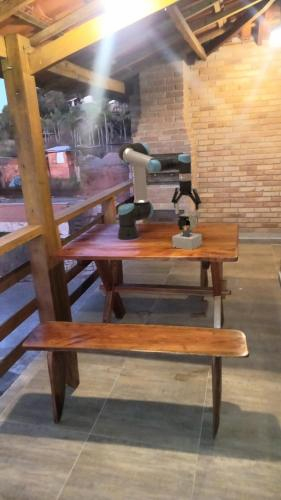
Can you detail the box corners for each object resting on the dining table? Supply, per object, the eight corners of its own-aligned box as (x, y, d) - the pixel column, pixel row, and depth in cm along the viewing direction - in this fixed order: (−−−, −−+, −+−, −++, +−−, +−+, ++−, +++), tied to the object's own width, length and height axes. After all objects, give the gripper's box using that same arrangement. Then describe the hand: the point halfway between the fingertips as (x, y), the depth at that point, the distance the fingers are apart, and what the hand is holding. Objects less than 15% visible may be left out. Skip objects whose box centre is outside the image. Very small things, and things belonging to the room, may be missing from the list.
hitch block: (172, 247, 245) (172, 236, 243) (183, 241, 255) (183, 231, 253) (191, 250, 237) (191, 239, 235) (202, 244, 246) (201, 234, 244)
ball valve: (189, 240, 256) (188, 214, 251) (177, 239, 261) (176, 214, 255) (199, 234, 271) (199, 209, 266) (188, 233, 275) (188, 208, 270)
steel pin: (182, 244, 245) (181, 226, 242) (185, 243, 249) (184, 225, 245) (187, 245, 243) (187, 227, 239) (191, 243, 246) (190, 225, 242)
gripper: (164, 180, 238) (166, 214, 244) (200, 181, 223) (201, 217, 229) (171, 179, 243) (172, 211, 250) (206, 179, 229) (207, 214, 235)
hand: (186, 214), depth 240 cm, fingers open, 13 cm apart
